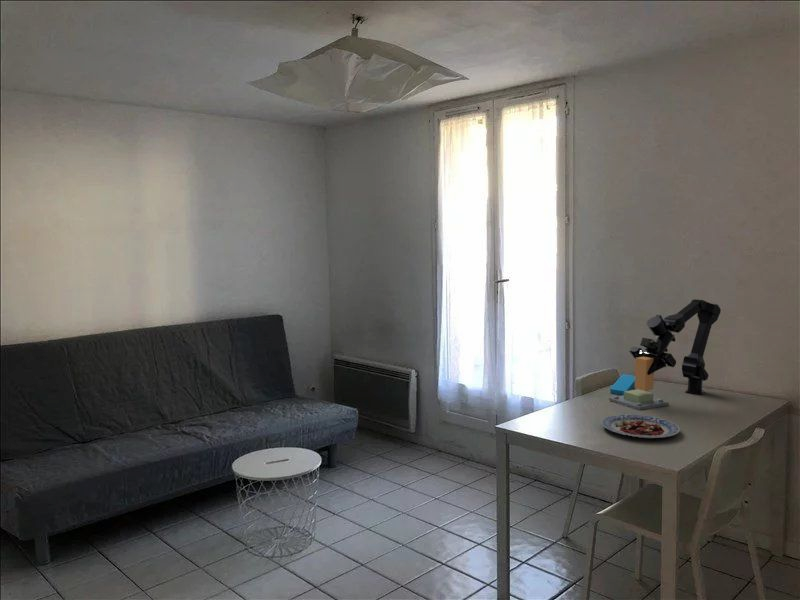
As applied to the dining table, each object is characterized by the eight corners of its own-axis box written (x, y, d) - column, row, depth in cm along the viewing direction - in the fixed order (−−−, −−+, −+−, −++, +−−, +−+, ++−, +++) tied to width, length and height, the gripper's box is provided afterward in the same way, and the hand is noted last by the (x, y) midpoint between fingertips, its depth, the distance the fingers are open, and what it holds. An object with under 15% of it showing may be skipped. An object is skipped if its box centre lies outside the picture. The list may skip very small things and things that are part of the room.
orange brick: (642, 386, 262) (643, 356, 261) (653, 389, 258) (654, 358, 257) (634, 388, 260) (635, 357, 258) (645, 390, 256) (646, 360, 254)
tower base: (637, 395, 273) (637, 385, 272) (668, 404, 258) (668, 394, 258) (609, 400, 266) (609, 390, 265) (639, 410, 251) (639, 399, 251)
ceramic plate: (695, 434, 222) (696, 426, 222) (644, 448, 209) (645, 439, 209) (635, 416, 244) (635, 408, 244) (585, 427, 232) (586, 419, 231)
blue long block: (626, 406, 274) (642, 386, 287) (625, 391, 272) (641, 372, 285) (611, 403, 279) (627, 384, 291) (609, 388, 277) (625, 370, 289)
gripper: (633, 327, 266) (614, 356, 262) (672, 333, 250) (653, 365, 246) (645, 344, 271) (626, 373, 267) (684, 351, 255) (665, 382, 251)
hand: (642, 373), depth 258 cm, fingers closed on orange brick, 5 cm apart
